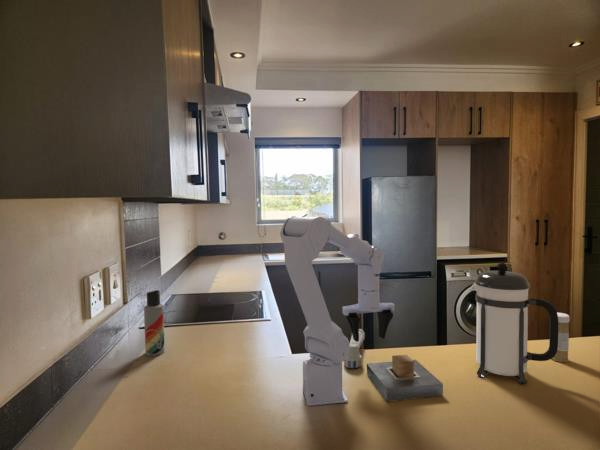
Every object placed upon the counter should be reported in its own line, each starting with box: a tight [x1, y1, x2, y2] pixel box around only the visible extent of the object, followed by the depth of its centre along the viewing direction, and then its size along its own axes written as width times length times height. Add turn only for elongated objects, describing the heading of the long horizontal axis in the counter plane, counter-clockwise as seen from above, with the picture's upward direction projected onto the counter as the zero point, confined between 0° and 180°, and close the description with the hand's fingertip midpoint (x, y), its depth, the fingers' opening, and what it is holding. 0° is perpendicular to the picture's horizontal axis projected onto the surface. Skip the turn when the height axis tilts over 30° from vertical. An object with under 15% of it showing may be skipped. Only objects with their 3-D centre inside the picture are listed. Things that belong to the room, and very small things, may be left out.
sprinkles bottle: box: [551, 311, 571, 363], centre depth 106 cm, size 5×5×14 cm
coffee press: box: [469, 262, 558, 386], centre depth 97 cm, size 17×16×30 cm
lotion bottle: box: [143, 289, 166, 357], centre depth 116 cm, size 6×6×20 cm
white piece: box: [343, 328, 366, 369], centre depth 114 cm, size 5×7×25 cm
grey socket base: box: [366, 359, 444, 402], centre depth 93 cm, size 14×14×3 cm
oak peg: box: [391, 354, 414, 378], centre depth 92 cm, size 4×4×7 cm
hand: (369, 338), depth 99 cm, fingers open, 7 cm apart
